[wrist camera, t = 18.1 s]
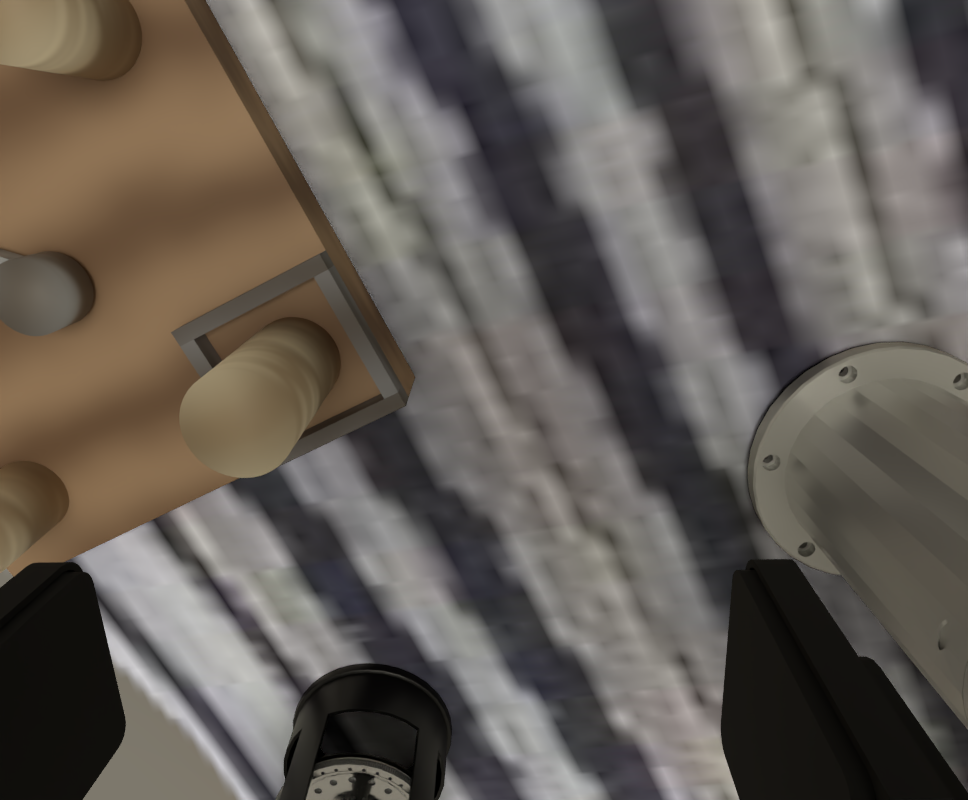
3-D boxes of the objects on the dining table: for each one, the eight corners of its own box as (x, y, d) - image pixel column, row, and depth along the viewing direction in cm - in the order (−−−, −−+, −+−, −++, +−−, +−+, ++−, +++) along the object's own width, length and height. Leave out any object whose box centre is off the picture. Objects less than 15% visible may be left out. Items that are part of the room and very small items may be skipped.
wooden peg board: (415, 377, 36) (391, 448, 27) (52, 551, 39) (-68, 663, 31) (152, -96, 29) (14, -193, 21) (-255, 165, 33) (-515, 171, 24)
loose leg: (356, 379, 33) (316, 449, 25) (282, 416, 33) (221, 495, 26) (311, 301, 32) (254, 350, 24) (234, 341, 32) (156, 400, 25)
